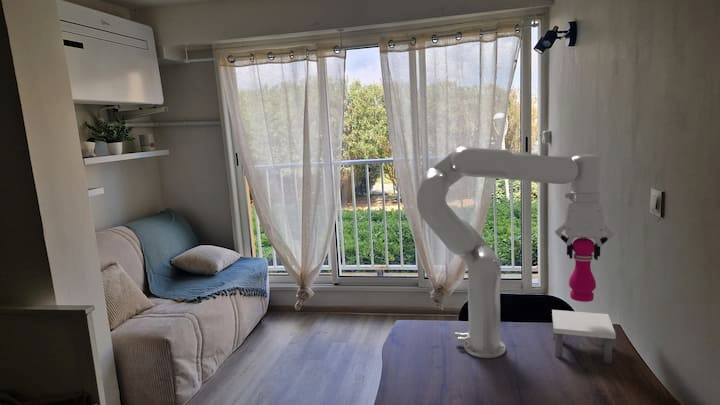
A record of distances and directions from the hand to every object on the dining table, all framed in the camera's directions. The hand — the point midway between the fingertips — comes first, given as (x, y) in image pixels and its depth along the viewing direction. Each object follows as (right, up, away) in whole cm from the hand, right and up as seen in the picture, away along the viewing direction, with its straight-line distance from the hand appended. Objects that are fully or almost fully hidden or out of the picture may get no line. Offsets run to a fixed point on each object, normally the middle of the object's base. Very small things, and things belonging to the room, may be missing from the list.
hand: (583, 257), depth 135 cm
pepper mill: (+1, -13, +2) cm, 13 cm away
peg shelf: (+2, -29, +5) cm, 29 cm away
